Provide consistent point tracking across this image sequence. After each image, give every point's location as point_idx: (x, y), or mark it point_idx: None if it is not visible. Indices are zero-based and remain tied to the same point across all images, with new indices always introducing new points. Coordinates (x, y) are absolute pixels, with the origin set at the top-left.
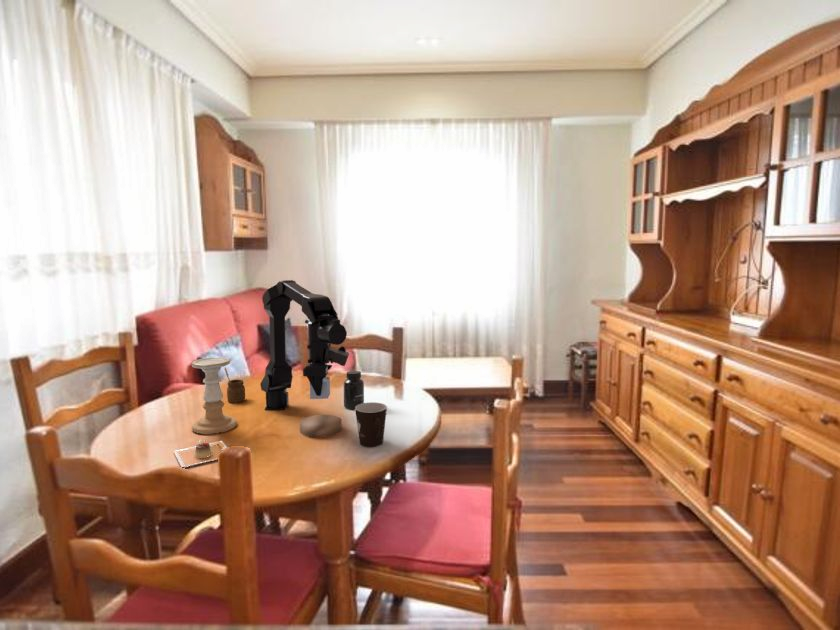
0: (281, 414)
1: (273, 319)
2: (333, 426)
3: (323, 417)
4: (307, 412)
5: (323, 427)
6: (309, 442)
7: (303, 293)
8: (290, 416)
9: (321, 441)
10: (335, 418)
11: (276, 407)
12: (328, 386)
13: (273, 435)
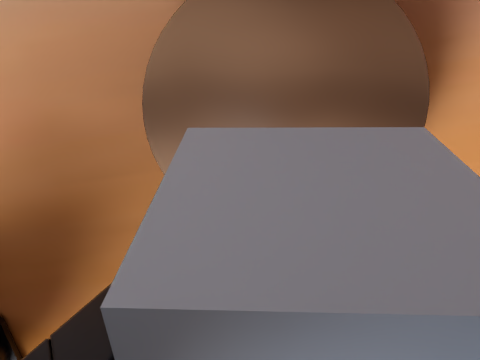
0: (65, 313)
1: None
2: (402, 12)
3: (202, 115)
4: (7, 216)
5: (406, 86)
6: (467, 138)
7: None
8: (84, 277)
9: (474, 73)
10: (222, 21)
11: (3, 347)
12: (361, 202)
13: None
